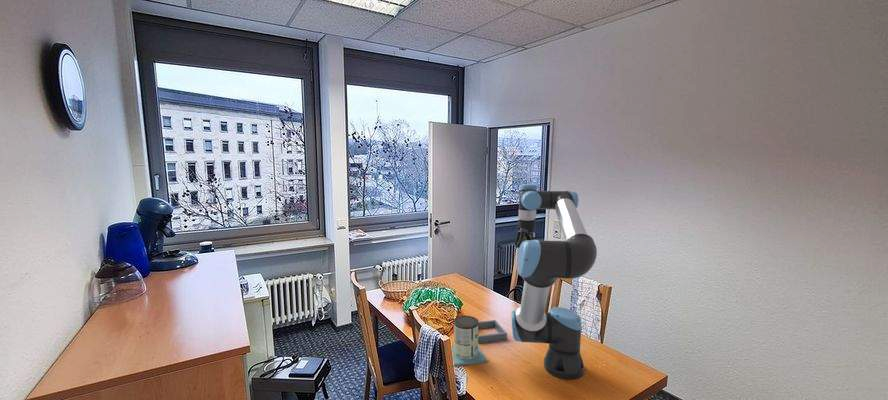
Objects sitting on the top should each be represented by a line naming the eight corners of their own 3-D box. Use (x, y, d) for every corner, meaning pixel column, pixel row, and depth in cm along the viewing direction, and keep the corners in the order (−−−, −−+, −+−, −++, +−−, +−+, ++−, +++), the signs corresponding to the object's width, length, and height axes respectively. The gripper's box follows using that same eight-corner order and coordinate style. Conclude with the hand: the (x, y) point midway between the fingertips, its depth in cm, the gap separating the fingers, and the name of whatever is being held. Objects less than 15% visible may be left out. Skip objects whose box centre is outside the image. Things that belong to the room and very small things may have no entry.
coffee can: (454, 345, 156) (454, 314, 154) (478, 346, 155) (478, 315, 153) (452, 358, 146) (453, 325, 144) (478, 360, 145) (478, 327, 143)
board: (487, 361, 145) (487, 359, 145) (454, 366, 142) (454, 364, 142) (476, 344, 159) (476, 342, 159) (445, 348, 155) (445, 346, 155)
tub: (506, 339, 163) (506, 333, 163) (477, 343, 160) (477, 336, 160) (495, 325, 177) (495, 319, 176) (468, 328, 173) (468, 322, 173)
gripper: (549, 223, 146) (547, 273, 149) (522, 214, 170) (521, 257, 173) (532, 224, 145) (531, 274, 147) (507, 214, 169) (506, 258, 171)
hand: (525, 265), depth 160 cm, fingers open, 13 cm apart
